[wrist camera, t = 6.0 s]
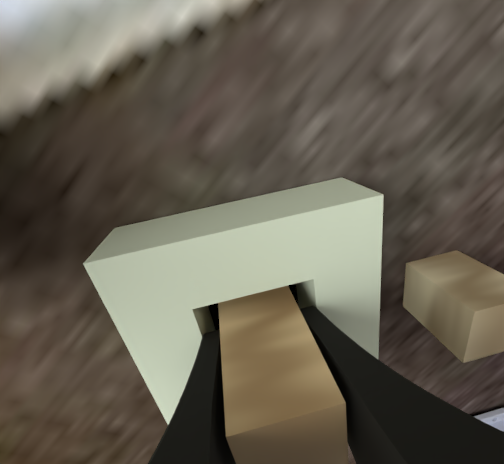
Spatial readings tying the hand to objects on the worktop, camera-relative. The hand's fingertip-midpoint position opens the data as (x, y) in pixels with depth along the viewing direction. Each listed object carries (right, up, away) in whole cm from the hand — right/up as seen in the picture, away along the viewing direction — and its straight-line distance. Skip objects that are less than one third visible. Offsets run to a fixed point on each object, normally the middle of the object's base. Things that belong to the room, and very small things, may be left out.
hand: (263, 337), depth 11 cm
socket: (0, +1, +3) cm, 3 cm away
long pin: (0, +1, +3) cm, 3 cm away
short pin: (+10, +2, +4) cm, 11 cm away
